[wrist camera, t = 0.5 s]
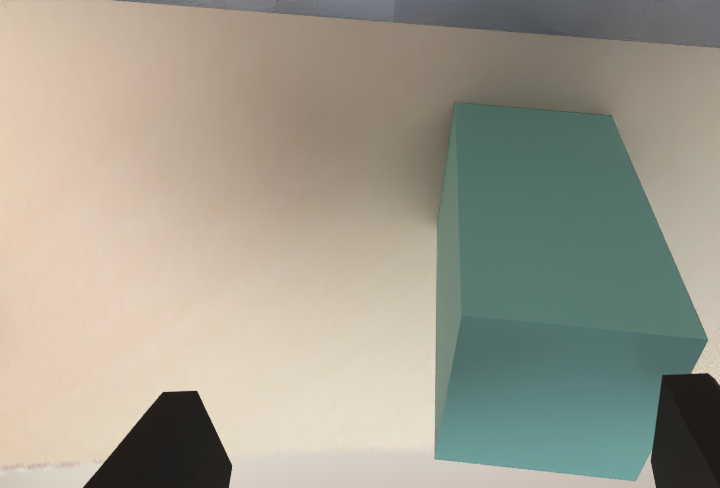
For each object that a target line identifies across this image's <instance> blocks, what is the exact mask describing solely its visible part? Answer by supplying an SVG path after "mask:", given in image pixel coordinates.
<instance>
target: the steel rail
mask: <svg viewBox="0 0 720 488" xmlns="http://www.w3.org/2000/svg"><path fill="white" fill-rule="evenodd" d="M116 1H129V2H142V3H155V4H167V5H180V6H193V7H206V8H218V9H231V10H244V11H257V12H269V13H282V14H295V15H308V16H320V17H333V18H346V19H359V20H371V21H384V22H397V23H410V24H422V25H435V26H448V27H461V28H473V29H486V30H499V31H512V32H524V33H537V34H550V35H563V36H575V37H588V38H601V39H614V40H626V41H639V42H652V43H665V44H677V45H690V46H703V47H716V48H720V0H116Z"/></svg>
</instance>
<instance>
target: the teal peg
mask: <svg viewBox="0 0 720 488" xmlns="http://www.w3.org/2000/svg"><path fill="white" fill-rule="evenodd" d="M707 341H708V338H707V336H706V333H705V331H704V329H703V326H702V324H701V322H700V320H699V317H698V315H697V313H696V310H695V308H694V306H693V303H692V301H691V299H690V296H689V294H688V292H687V289H686V287H685V285H684V283H683V280H682V278H681V276H680V273H679V271H678V269H677V266H676V264H675V262H674V259H673V257H672V255H671V252H670V250H669V248H668V246H667V243H666V241H665V239H664V236H663V234H662V232H661V229H660V227H659V225H658V222H657V220H656V218H655V216H654V213H653V211H652V209H651V206H650V204H649V202H648V199H647V197H646V195H645V192H644V190H643V188H642V185H641V183H640V181H639V179H638V176H637V174H636V172H635V169H634V167H633V165H632V162H631V160H630V158H629V155H628V153H627V151H626V148H625V146H624V144H623V142H622V139H621V137H620V135H619V132H618V130H617V128H616V125H615V123H614V121H613V118H612V116H610V115H598V114H587V113H575V112H563V111H551V110H539V109H527V108H515V107H503V106H491V105H479V104H467V103H455V105H454V112H453V119H452V126H451V133H450V140H449V147H448V154H447V161H446V168H445V175H444V183H443V190H442V197H441V204H440V211H439V218H438V225H437V289H436V376H435V459H438V460H447V461H457V462H465V463H474V464H484V465H492V466H502V467H512V468H519V469H528V470H537V471H546V472H556V473H565V474H575V475H583V476H593V477H601V478H610V479H619V480H628V481H636V480H637V478H638V476H639V474H640V472H641V470H642V468H643V466H644V464H645V462H646V460H647V458H648V456H649V455H650V453H651V451H652V448H653V441H654V433H655V426H656V418H657V411H658V403H659V396H660V388H661V381H662V375H673V374H691V372H692V370H693V368H694V366H695V365H696V363H697V361H698V359H699V357H700V355H701V353H702V351H703V349H704V347H705V345H706V343H707Z"/></svg>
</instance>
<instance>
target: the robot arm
mask: <svg viewBox="0 0 720 488" xmlns="http://www.w3.org/2000/svg"><path fill="white" fill-rule="evenodd" d="M651 464H652V469H653V474H654V479H655V484H656V488H720V385H719V384H718V383H717V381H716V380H715V379H714V378H713V377H712V376H711V375H709V374H708V373H703V374H673V375H662V381H661V388H660V396H659V403H658V411H657V418H656V426H655V433H654V441H653V448H652V456H651ZM231 471H232V464H231V462H230V460H229V458H228V456H227V454H226V452H225V449H224V447H223V445H222V443H221V441H220V439H219V437H218V434H217V432H216V430H215V428H214V426H213V424H212V422H211V420H210V417H209V415H208V413H207V411H206V409H205V407H204V405H203V403H202V400H201V398H200V396H199V394H198V392H197V391H179V392H163V393H162V394H161V395H160V396H159V397H158V399H157V400H156V401H155V402H154V403H153V404H152V406H151V407H150V408H149V409H148V410H147V412H146V413H145V414H144V415H143V416H142V418H141V419H140V420H139V421H138V422H137V424H136V425H135V426H134V427H133V428H132V430H131V431H130V432H129V433H128V434H127V436H126V437H125V438H124V439H123V441H122V442H121V443H120V444H119V445H118V447H117V448H116V449H115V450H114V451H113V453H112V454H111V455H110V456H109V457H108V459H107V460H106V461H105V462H104V463H103V465H102V466H101V467H100V468H99V470H98V471H97V472H96V473H95V474H94V475H93V477H92V478H91V479H90V480H89V481H88V482H87V484H86V485H85V486H84V487H83V488H229V483H230V477H231Z"/></svg>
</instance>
